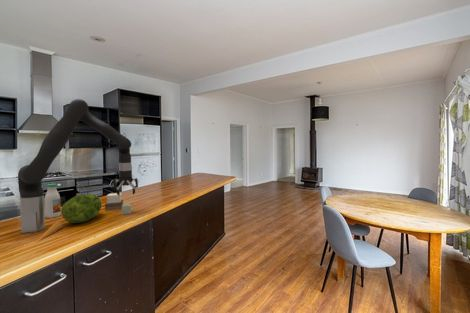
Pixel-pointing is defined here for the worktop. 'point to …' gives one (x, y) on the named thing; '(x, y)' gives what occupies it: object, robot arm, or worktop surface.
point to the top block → (114, 198)
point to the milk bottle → (52, 202)
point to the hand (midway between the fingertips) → (126, 194)
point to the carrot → (52, 229)
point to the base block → (113, 206)
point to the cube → (126, 209)
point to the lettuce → (81, 208)
